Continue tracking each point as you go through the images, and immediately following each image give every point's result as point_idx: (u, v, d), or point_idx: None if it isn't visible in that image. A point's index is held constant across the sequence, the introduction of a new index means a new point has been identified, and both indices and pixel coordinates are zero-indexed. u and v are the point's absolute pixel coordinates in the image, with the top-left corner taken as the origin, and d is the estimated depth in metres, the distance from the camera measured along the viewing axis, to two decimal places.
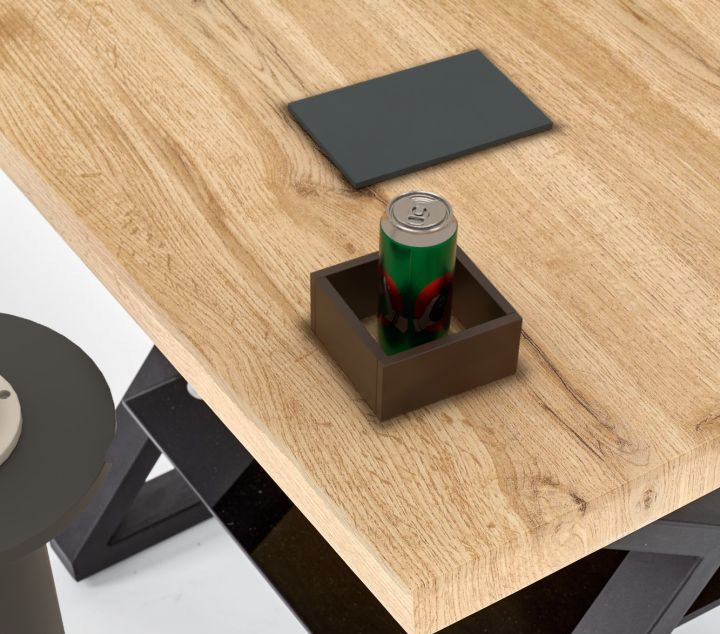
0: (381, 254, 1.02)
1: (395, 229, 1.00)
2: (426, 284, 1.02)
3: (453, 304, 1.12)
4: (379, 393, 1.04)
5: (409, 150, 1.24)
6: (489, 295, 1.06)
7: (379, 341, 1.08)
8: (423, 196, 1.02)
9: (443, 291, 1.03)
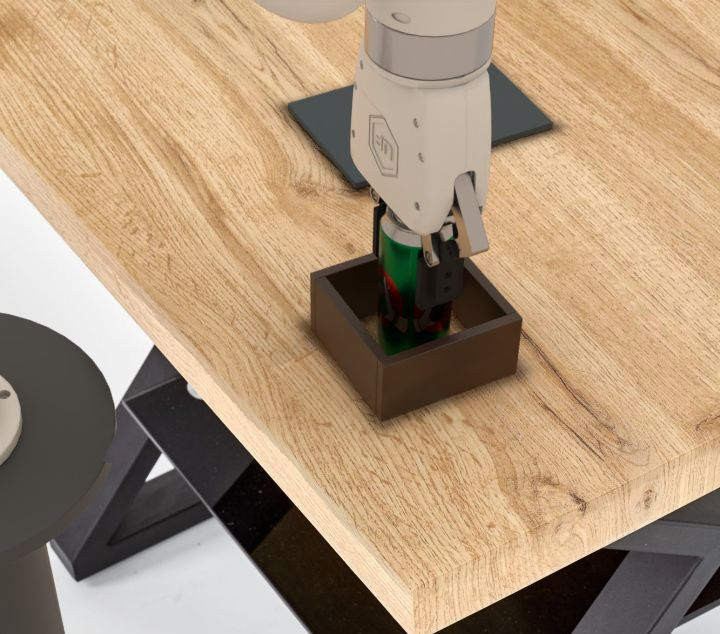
0: (381, 254, 1.02)
1: (395, 229, 1.00)
2: None
3: (453, 304, 1.12)
4: (379, 393, 1.04)
5: None
6: (489, 295, 1.06)
7: (379, 341, 1.08)
8: None
9: None
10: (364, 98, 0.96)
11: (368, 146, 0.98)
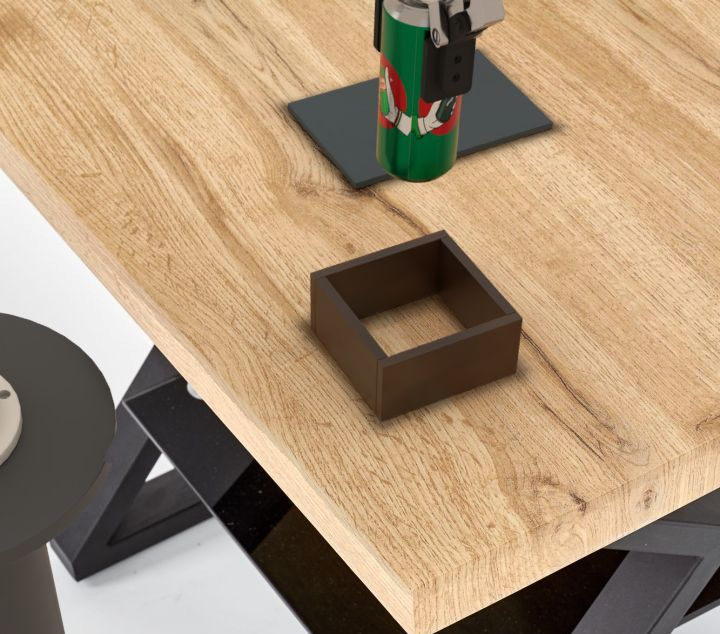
0: (383, 40, 0.92)
1: (399, 8, 0.90)
2: None
3: (453, 304, 1.12)
4: (379, 393, 1.04)
5: None
6: (489, 295, 1.06)
7: (379, 149, 0.97)
8: None
9: None
10: None
11: None
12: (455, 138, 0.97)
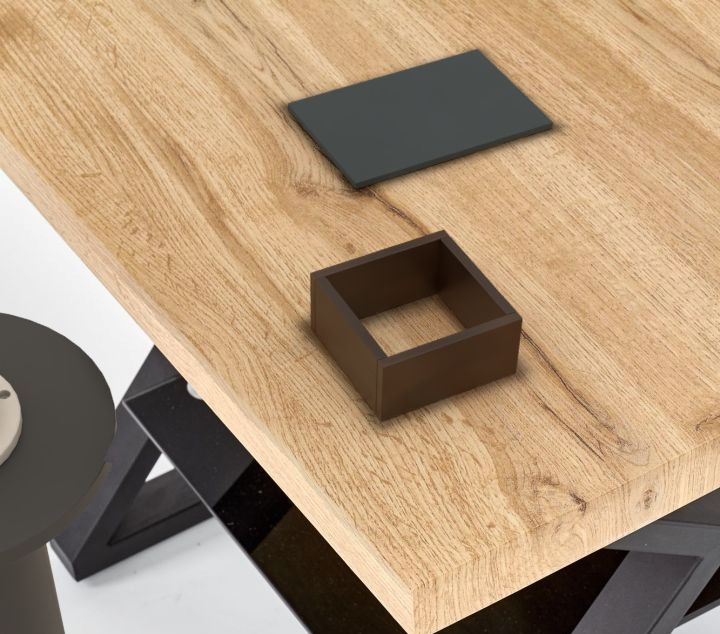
0: None
1: None
2: None
3: (453, 304, 1.12)
4: (379, 393, 1.04)
5: (409, 150, 1.24)
6: (489, 295, 1.06)
7: None
8: None
9: None
10: None
11: None
12: None
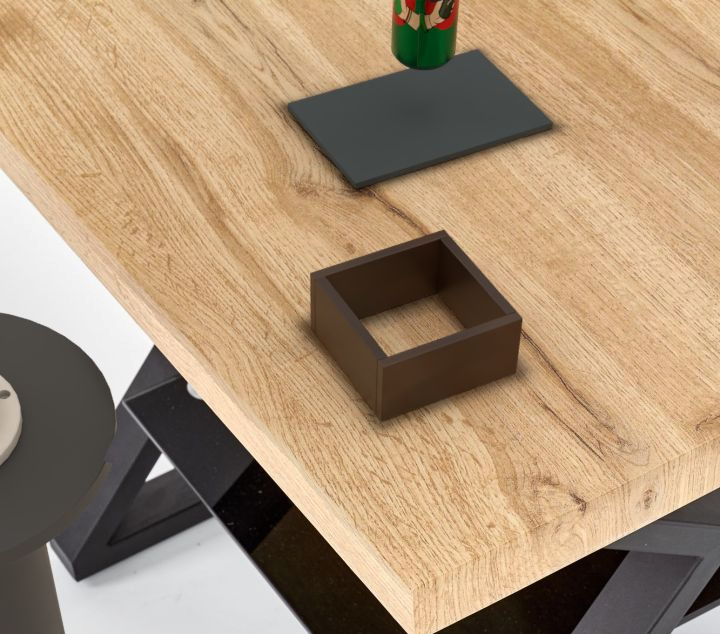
0: None
1: None
2: None
3: (453, 304, 1.12)
4: (379, 393, 1.04)
5: (409, 150, 1.24)
6: (489, 295, 1.06)
7: (394, 43, 1.22)
8: None
9: None
10: None
11: None
12: (454, 33, 1.21)
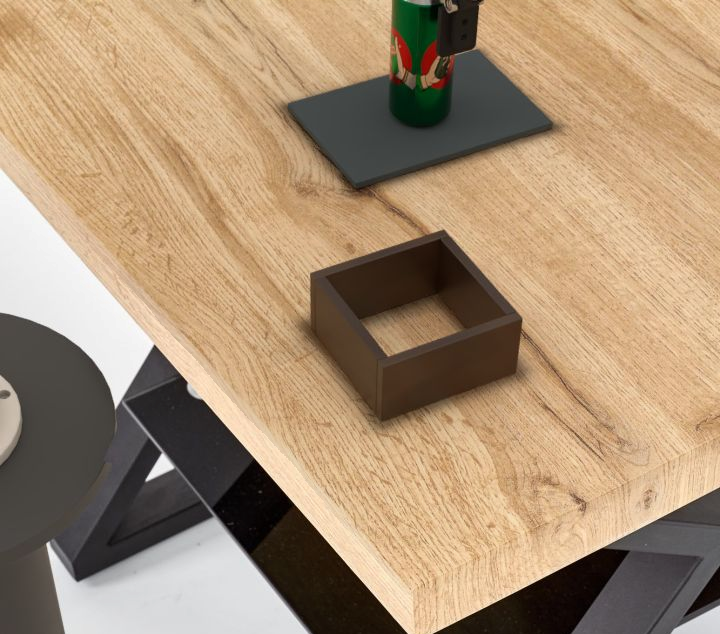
0: (393, 16, 1.20)
1: None
2: (431, 42, 1.20)
3: (453, 304, 1.12)
4: (379, 393, 1.04)
5: (409, 150, 1.24)
6: (489, 295, 1.06)
7: (391, 101, 1.26)
8: None
9: None
10: None
11: None
12: (450, 91, 1.25)
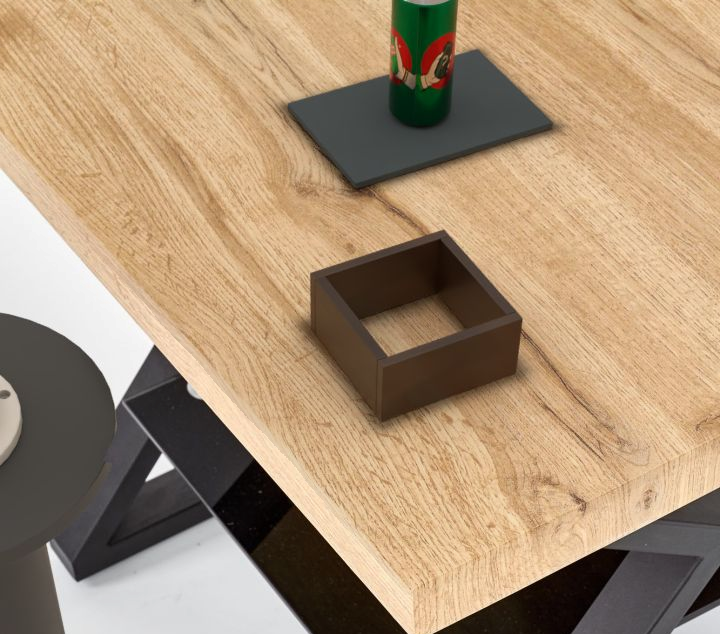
0: (393, 16, 1.20)
1: None
2: (431, 42, 1.20)
3: (453, 304, 1.12)
4: (379, 393, 1.04)
5: (409, 150, 1.24)
6: (489, 295, 1.06)
7: (391, 101, 1.26)
8: None
9: (446, 49, 1.21)
10: None
11: None
12: (450, 91, 1.25)
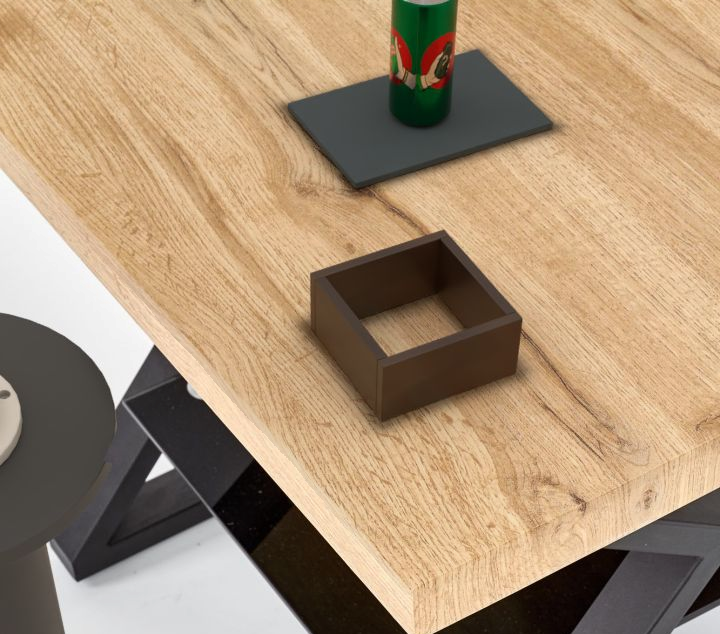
0: (393, 16, 1.20)
1: None
2: (431, 42, 1.20)
3: (453, 304, 1.12)
4: (379, 393, 1.04)
5: (409, 150, 1.24)
6: (489, 295, 1.06)
7: (391, 101, 1.26)
8: None
9: (446, 49, 1.21)
10: None
11: None
12: (450, 91, 1.25)
